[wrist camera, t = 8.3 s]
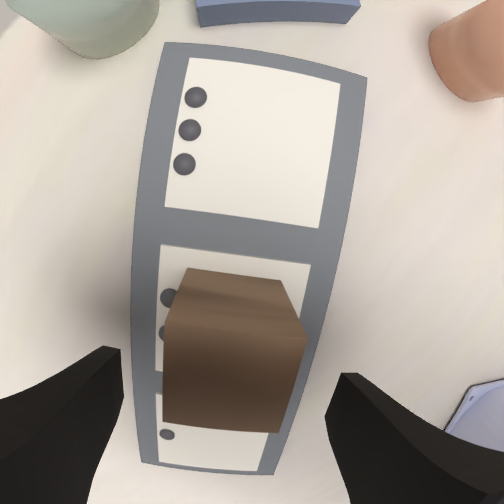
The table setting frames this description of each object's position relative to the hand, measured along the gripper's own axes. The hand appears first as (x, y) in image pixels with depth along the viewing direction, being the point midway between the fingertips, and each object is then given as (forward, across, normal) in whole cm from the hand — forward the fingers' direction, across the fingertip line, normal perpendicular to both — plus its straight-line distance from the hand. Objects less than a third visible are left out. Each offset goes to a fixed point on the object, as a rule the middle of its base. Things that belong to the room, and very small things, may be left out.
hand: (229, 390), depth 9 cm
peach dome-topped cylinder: (+6, -11, -16) cm, 20 cm away
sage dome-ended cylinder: (+6, +8, -14) cm, 17 cm away
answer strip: (+6, 0, 0) cm, 6 cm away
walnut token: (+5, 0, 0) cm, 5 cm away
